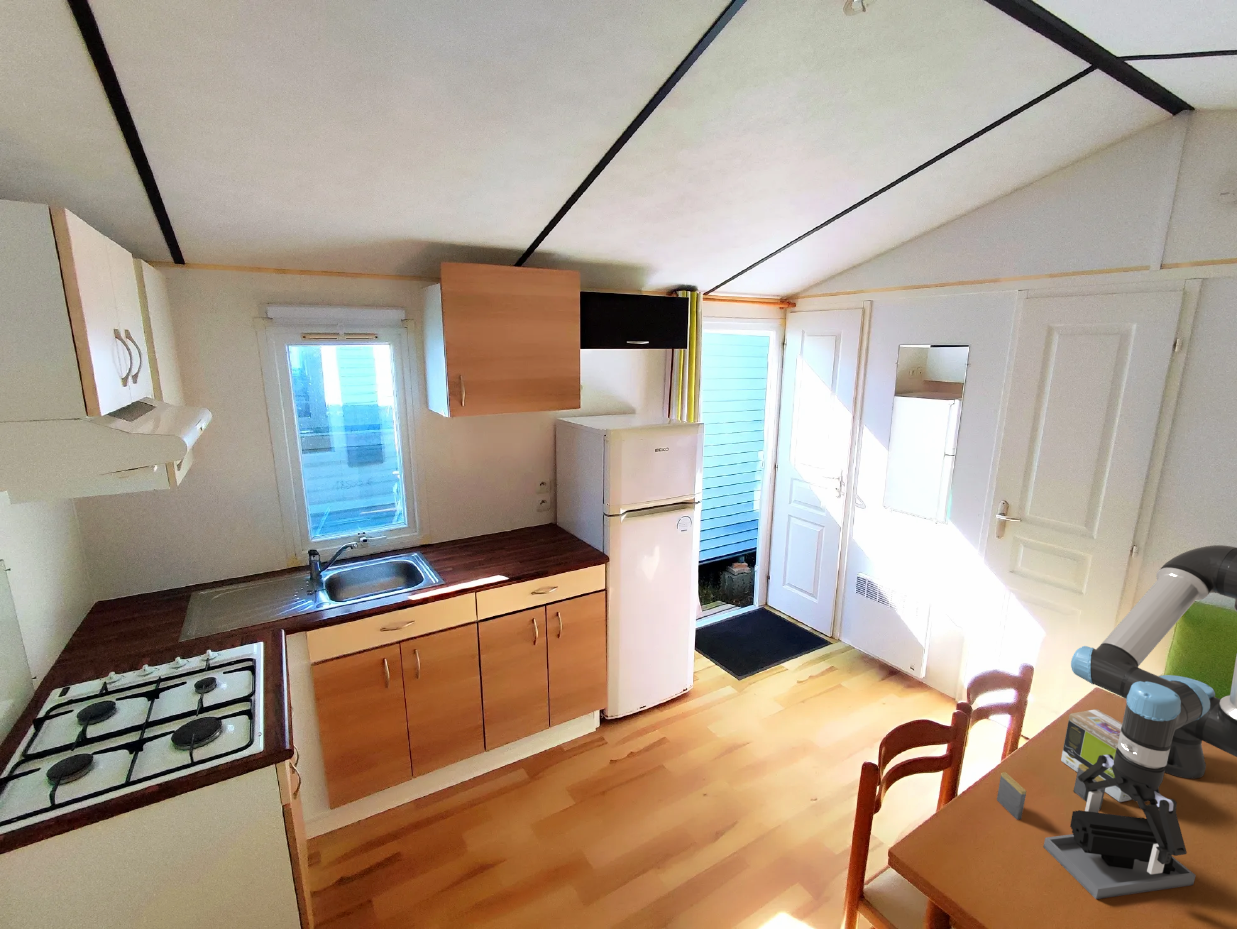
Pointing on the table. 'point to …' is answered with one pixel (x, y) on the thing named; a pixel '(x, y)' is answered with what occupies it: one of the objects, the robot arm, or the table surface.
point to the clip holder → (1015, 794)
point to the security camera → (1115, 838)
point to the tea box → (1092, 744)
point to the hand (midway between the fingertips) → (1120, 843)
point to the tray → (1112, 871)
